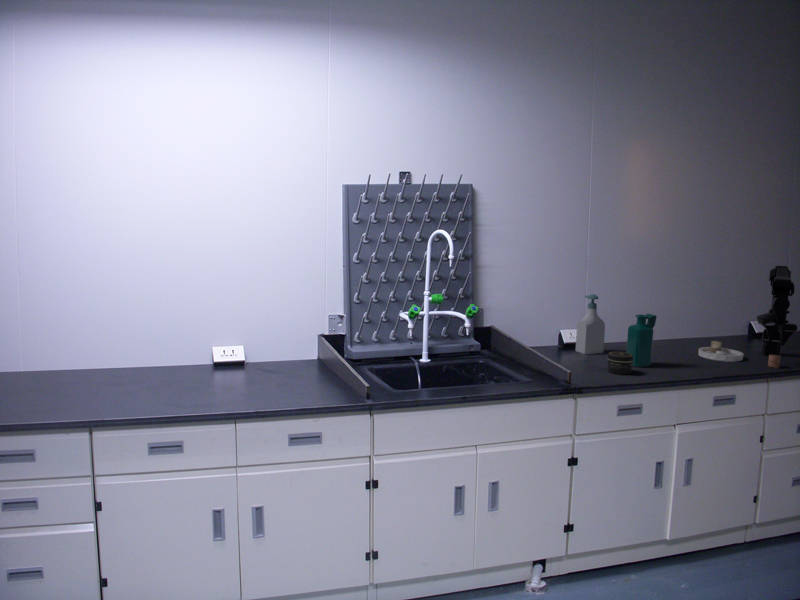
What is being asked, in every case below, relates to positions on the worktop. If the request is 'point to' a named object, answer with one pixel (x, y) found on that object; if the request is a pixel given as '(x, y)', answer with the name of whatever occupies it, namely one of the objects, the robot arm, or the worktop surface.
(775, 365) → the bead terracotta
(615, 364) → the jar
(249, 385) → the worktop surface
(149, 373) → the worktop surface
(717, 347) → the bead maple
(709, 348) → the tray
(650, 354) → the pitcher
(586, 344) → the soap bottle
